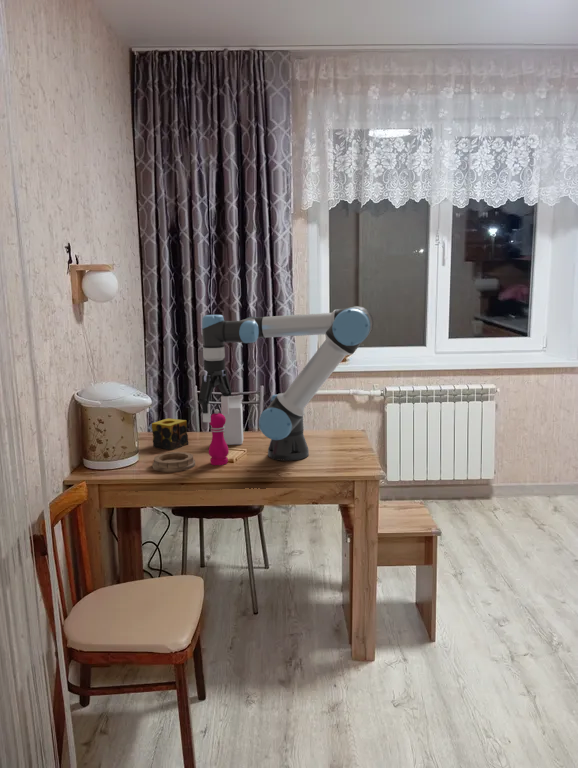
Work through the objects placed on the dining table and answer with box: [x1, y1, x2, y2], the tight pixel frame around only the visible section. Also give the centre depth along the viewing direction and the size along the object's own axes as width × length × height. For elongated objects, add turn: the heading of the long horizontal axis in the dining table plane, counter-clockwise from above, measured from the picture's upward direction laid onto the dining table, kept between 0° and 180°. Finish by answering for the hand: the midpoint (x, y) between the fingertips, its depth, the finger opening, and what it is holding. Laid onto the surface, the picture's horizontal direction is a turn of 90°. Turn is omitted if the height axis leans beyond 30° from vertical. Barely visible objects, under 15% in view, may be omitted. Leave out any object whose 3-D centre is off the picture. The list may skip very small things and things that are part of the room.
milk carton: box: [223, 395, 244, 446], centre depth 272 cm, size 7×7×19 cm
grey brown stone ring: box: [152, 451, 196, 473], centre depth 244 cm, size 15×15×3 cm
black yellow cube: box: [151, 418, 189, 451], centre depth 270 cm, size 10×10×10 cm
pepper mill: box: [208, 408, 230, 466], centre depth 244 cm, size 7×7×20 cm
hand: (216, 417), depth 243 cm, fingers open, 13 cm apart
